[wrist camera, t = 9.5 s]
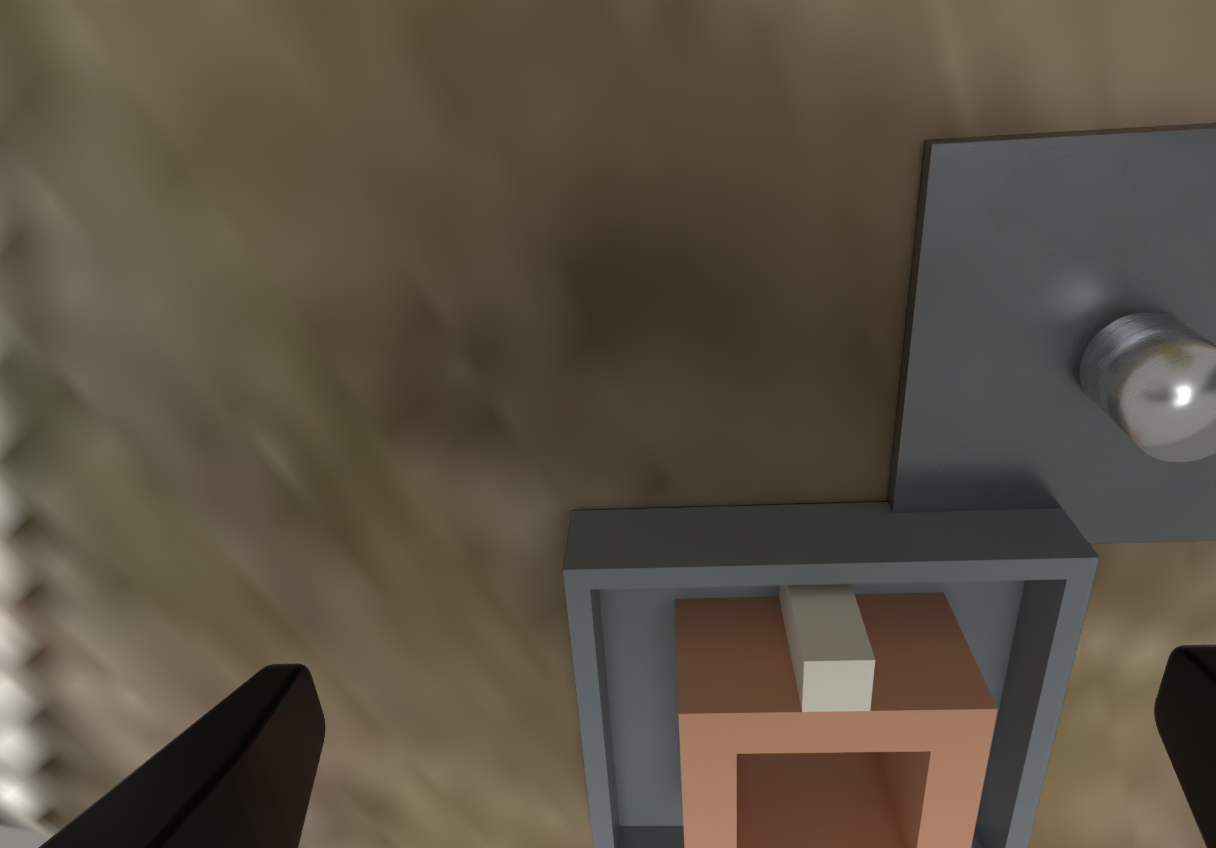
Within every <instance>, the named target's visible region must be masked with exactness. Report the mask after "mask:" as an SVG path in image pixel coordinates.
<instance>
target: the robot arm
mask: <svg viewBox="0 0 1216 848" xmlns="http://www.w3.org/2000/svg"><path fill="white" fill-rule="evenodd" d="M1154 715H1155V721H1156V726H1157V729H1158V731H1159V734H1160V736H1161V739H1162V741H1163V744H1164V746H1165V748H1166V751H1167V753H1168V756H1169V758H1170V760H1171V763H1172V765H1173V768H1174V770H1175V772H1176V775H1177V777H1178V780H1179V782H1180V785H1181V787H1182V789H1183V792H1184V794H1185V797H1186V799H1187V801H1188V804H1189V806H1190V809H1191V811H1192V813H1193V816H1194V818H1195V821H1196V823H1197V825H1198V828H1199V830H1200V833H1201V835H1202V838H1203V840H1204V842H1205V845H1206V847H1207V848H1216V645H1183V646H1179V647H1176V648H1175V649H1174V650H1173V651H1172V652H1171V654H1170V656H1169V659H1168V662H1167V665H1166V668H1165V672H1164V675H1163V678H1162V681H1161V685H1160V688H1159V691H1158V694H1157V698H1156V701H1155V707H1154ZM324 738H325V719H324V714H323V711H322V708H321V705H320V701H319V698H318V695H317V692H316V688H315V685H314V682H313V679H312V676H311V673H310V671H309V669H308V668H307V667H306V666H305V665H302V664H273V665H268V666H266V667H264V668H263V669H261V670H260V671H259V672H257V673H256V674H255V675H254V676H252V677H251V678H250V679H249V680H247V681H246V682H245V683H244V684H242V685H241V686H240V687H239V688H237V689H236V690H235V691H234V692H232V693H231V694H230V695H229V696H227V697H226V698H225V699H224V700H222V701H221V702H220V703H219V704H217V705H216V706H215V707H214V708H212V709H211V710H210V711H209V712H207V713H206V714H205V715H204V716H202V717H201V718H200V719H199V720H197V721H196V722H195V723H194V724H192V725H191V726H190V727H189V728H187V729H186V730H185V731H184V732H182V733H181V734H180V735H179V736H177V737H176V738H175V739H174V740H172V741H171V742H170V743H169V744H167V745H166V746H165V747H164V748H162V749H161V750H160V751H159V752H157V753H156V754H155V755H154V756H152V757H151V758H150V759H149V760H147V761H146V762H145V763H144V764H142V765H141V766H140V767H139V768H137V769H136V770H135V771H134V772H132V773H131V774H130V775H129V776H127V777H126V778H125V779H124V780H123V781H121V782H120V783H119V784H118V785H116V786H115V787H114V788H113V789H111V790H110V791H109V792H108V793H106V794H105V795H104V796H103V797H101V798H100V799H99V800H98V801H96V802H95V803H94V804H93V805H91V806H90V807H89V808H88V809H86V810H85V811H84V812H83V813H81V814H80V815H79V816H78V817H76V818H75V819H74V820H73V821H71V822H70V823H69V824H68V825H66V826H65V827H64V828H63V829H61V830H60V831H59V832H58V833H56V834H55V835H54V836H53V837H51V838H50V839H49V840H48V841H47V842H45V843H44V844H43V845H41V846H40V847H39V848H298V846H299V842H300V838H301V834H302V829H303V825H304V821H305V817H306V813H307V809H308V805H309V801H310V796H311V792H312V788H313V784H314V780H315V776H316V772H317V768H318V763H319V759H320V755H321V751H322V747H323V743H324Z"/></svg>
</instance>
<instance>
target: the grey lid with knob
mask: <svg viewBox="0 0 1216 848" xmlns="http://www.w3.org/2000/svg"><path fill="white" fill-rule="evenodd" d="M888 503H889V506H890V508H891V510H892V513H906V512H943V511H980V510H1017V509H1053V508H1063V510H1064V511H1065V512H1066V514H1067V515H1068V516H1069V518H1070V519H1071V520H1072V522H1073V523H1074V524H1075V526H1076V527H1077V528H1078V530H1079V531H1080V532H1081V534H1082V535H1083V536H1084V538H1085V539H1086V540H1087V542H1088V543H1089V544H1105V543H1147V542H1188V541H1216V123H1213V124H1196V125H1178V126H1161V127H1143V128H1126V129H1108V130H1091V131H1073V132H1056V133H1038V134H1021V135H1003V136H986V137H968V138H951V139H933V140H925V147H924V157H923V166H922V176H921V186H920V195H919V205H918V215H917V224H916V234H915V244H914V253H913V263H912V273H911V282H910V292H909V302H908V311H907V321H906V331H905V340H904V350H903V360H902V369H901V379H900V389H899V398H898V408H897V418H896V427H895V437H894V447H893V456H892V466H891V476H890V485H889V495H888Z"/></svg>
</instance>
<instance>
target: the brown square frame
mask: <svg viewBox="0 0 1216 848" xmlns="http://www.w3.org/2000/svg"><path fill="white" fill-rule="evenodd" d="M675 624H676V654H677V684H678V714H679V736H680V759H681V781H682V803H683V826H684V848H971V846H972V840H973V835H974V830H975V825H976V820H977V814H978V809H979V804H980V799H981V794H982V788H983V783H984V778H985V773H986V768H987V762H988V757H989V752H990V747H991V742H992V736H993V731H994V726H995V721H996V716H997V710H998V708H997V706H996V704H995V702H994V700H993V698H992V695H991V693H990V691H989V689H988V687H987V685H986V682H985V680H984V678H983V676H982V674H981V672H980V669H979V667H978V665H977V663H976V661H975V659H974V656H973V654H972V652H971V650H970V648H969V646H968V643H967V641H966V639H965V637H964V635H963V633H962V630H961V628H960V626H959V624H958V622H957V620H956V617H955V615H954V613H953V611H952V609H951V607H950V604H949V602H948V600H947V598H946V596H945V594H944V592H931V593H892V594H854V592H853V588H852V585H851V584H827V585H781V586H779V596H773V597H734V598H695V599H675Z"/></svg>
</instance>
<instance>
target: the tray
mask: <svg viewBox="0 0 1216 848" xmlns="http://www.w3.org/2000/svg"><path fill="white" fill-rule="evenodd" d="M1098 561H1099V556H1098V555H1097V554H1096V552H1095V551H1094V550H1093V548H1092V547H1091V546H1090V544H1089V543H1088V542H1087V540H1086V539H1085V538H1084V536H1083V535H1082V534H1081V532H1080V531H1079V530H1078V528H1077V527H1076V526H1075V524H1074V523H1073V522H1072V520H1071V519H1070V518H1069V516H1068V515H1067V514H1066V512H1065V511H1064V510H1063V508H1053V509H1017V510H980V511H943V512H906V513H892V510H891V508H890V506H889V503H888V502H865V503H830V504H794V505H758V506H723V507H687V508H652V509H616V510H581V511H572V512H571V518H570V525H569V532H568V539H567V545H566V552H565V559H564V565H563V576H564V585H565V594H566V603H567V612H568V622H569V631H570V640H571V649H572V658H573V667H574V676H575V685H576V694H577V703H578V712H579V721H580V730H581V739H582V748H583V757H584V766H585V775H586V784H587V793H588V802H589V811H590V820H591V829H592V838H593V847H594V848H684V826H683V803H682V781H681V759H680V736H679V714H678V684H677V654H676V624H675V599H695V598H734V597H773V596H779V586H781V585H827V584H851V585H852V588H853V592H854V594H892V593H931V592H944V594H945V596H946V598H947V600H948V602H949V604H950V607H951V609H952V611H953V613H954V615H955V617H956V620H957V622H958V624H959V626H960V628H961V630H962V633H963V635H964V637H965V639H966V641H967V643H968V646H969V648H970V650H971V652H972V654H973V656H974V659H975V661H976V663H977V665H978V667H979V669H980V672H981V674H982V676H983V678H984V680H985V682H986V685H987V687H988V689H989V691H990V693H991V695H992V698H993V700H994V702H995V704H996V706H997V708H998V710H997V716H996V721H995V726H994V731H993V736H992V742H991V747H990V752H989V757H988V762H987V768H986V773H985V778H984V783H983V788H982V794H981V799H980V804H979V809H978V814H977V820H976V825H975V830H974V835H973V840H972V846H971V848H1027V847H1028V843H1029V839H1030V835H1031V831H1032V827H1033V823H1034V819H1035V815H1036V811H1037V807H1038V803H1039V799H1040V795H1041V791H1042V787H1043V783H1044V779H1045V775H1046V771H1047V767H1048V763H1049V759H1050V755H1051V751H1052V747H1053V742H1054V738H1055V734H1056V730H1057V726H1058V722H1059V718H1060V714H1061V710H1062V706H1063V702H1064V698H1065V694H1066V690H1067V686H1068V682H1069V678H1070V674H1071V670H1072V666H1073V662H1074V658H1075V654H1076V650H1077V646H1078V642H1079V638H1080V634H1081V630H1082V626H1083V622H1084V618H1085V614H1086V610H1087V606H1088V602H1089V598H1090V594H1091V590H1092V586H1093V582H1094V578H1095V574H1096V570H1097V566H1098Z"/></svg>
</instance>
